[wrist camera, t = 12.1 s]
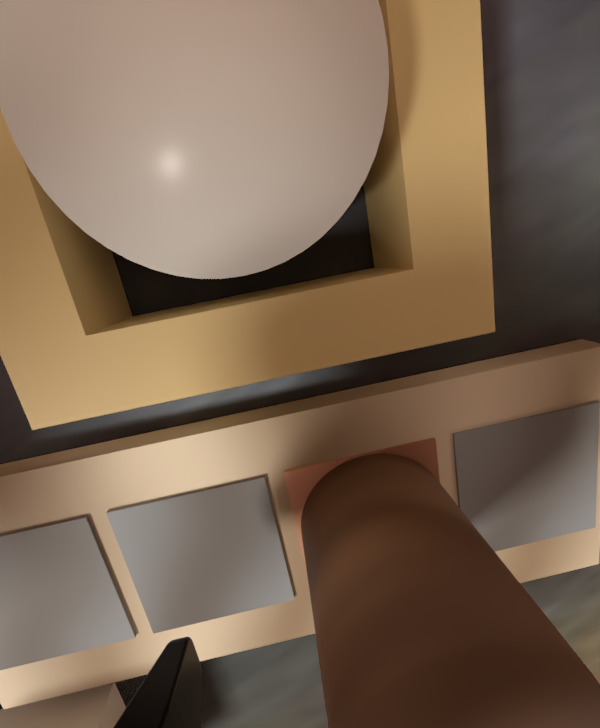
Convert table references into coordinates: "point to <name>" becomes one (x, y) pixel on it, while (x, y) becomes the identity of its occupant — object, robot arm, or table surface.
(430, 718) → the brown capsule
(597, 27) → the table surface
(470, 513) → the makeup compact
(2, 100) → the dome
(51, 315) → the box
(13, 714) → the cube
